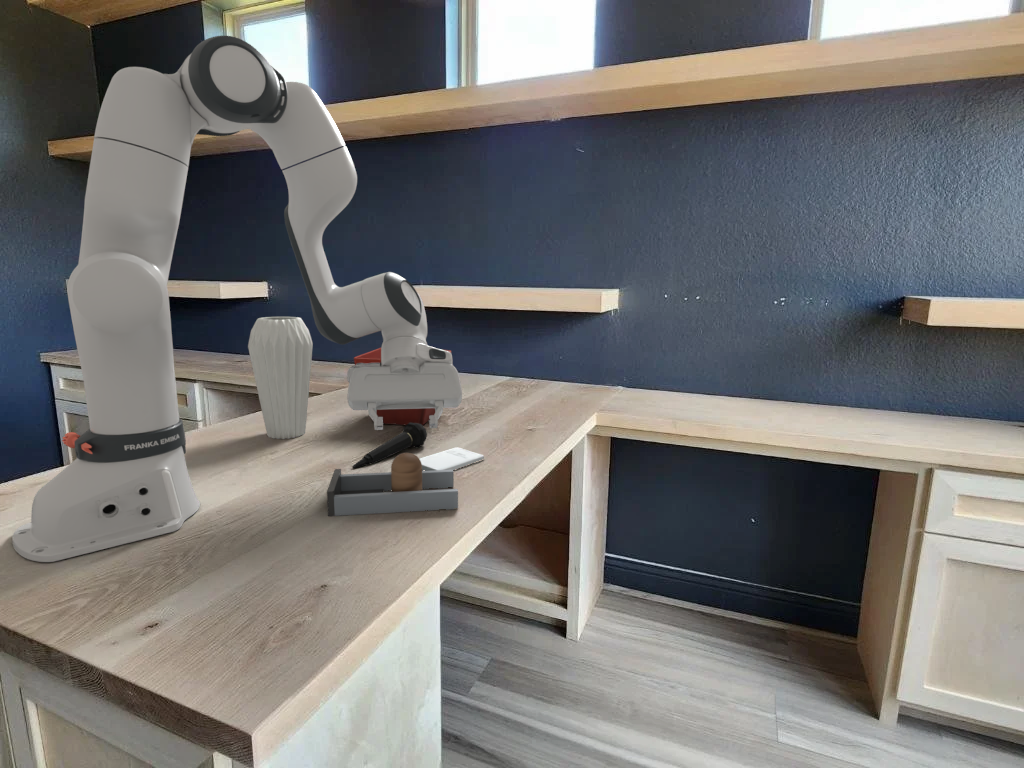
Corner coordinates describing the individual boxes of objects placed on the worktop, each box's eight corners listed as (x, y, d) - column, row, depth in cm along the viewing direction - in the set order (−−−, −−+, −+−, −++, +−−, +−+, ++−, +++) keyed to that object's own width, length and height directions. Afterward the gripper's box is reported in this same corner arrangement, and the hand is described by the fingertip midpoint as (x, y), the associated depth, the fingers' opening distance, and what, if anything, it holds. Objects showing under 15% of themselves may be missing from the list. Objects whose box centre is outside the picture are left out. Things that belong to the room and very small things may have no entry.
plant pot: (430, 431, 133) (429, 361, 130) (354, 426, 136) (351, 357, 133) (452, 412, 152) (452, 349, 148) (385, 407, 155) (383, 346, 151)
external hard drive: (409, 468, 110) (455, 453, 119) (438, 478, 105) (484, 462, 114) (409, 460, 110) (455, 445, 119) (438, 470, 105) (484, 454, 114)
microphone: (362, 486, 108) (430, 447, 124) (365, 461, 105) (434, 425, 121) (342, 472, 110) (411, 436, 126) (344, 448, 107) (414, 414, 123)
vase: (312, 423, 138) (306, 315, 132) (322, 438, 126) (316, 320, 121) (252, 429, 132) (244, 316, 126) (256, 445, 120) (247, 321, 115)
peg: (406, 508, 91) (405, 460, 89) (385, 500, 94) (384, 453, 92) (428, 498, 94) (428, 452, 93) (408, 491, 97) (407, 446, 96)
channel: (328, 516, 87) (326, 491, 86) (335, 491, 97) (334, 469, 96) (458, 508, 91) (458, 485, 90) (453, 485, 100) (453, 464, 99)
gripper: (346, 353, 102) (342, 420, 94) (459, 352, 105) (465, 416, 98) (349, 373, 107) (346, 438, 99) (457, 371, 111) (462, 434, 103)
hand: (406, 427), depth 99 cm, fingers open, 8 cm apart
